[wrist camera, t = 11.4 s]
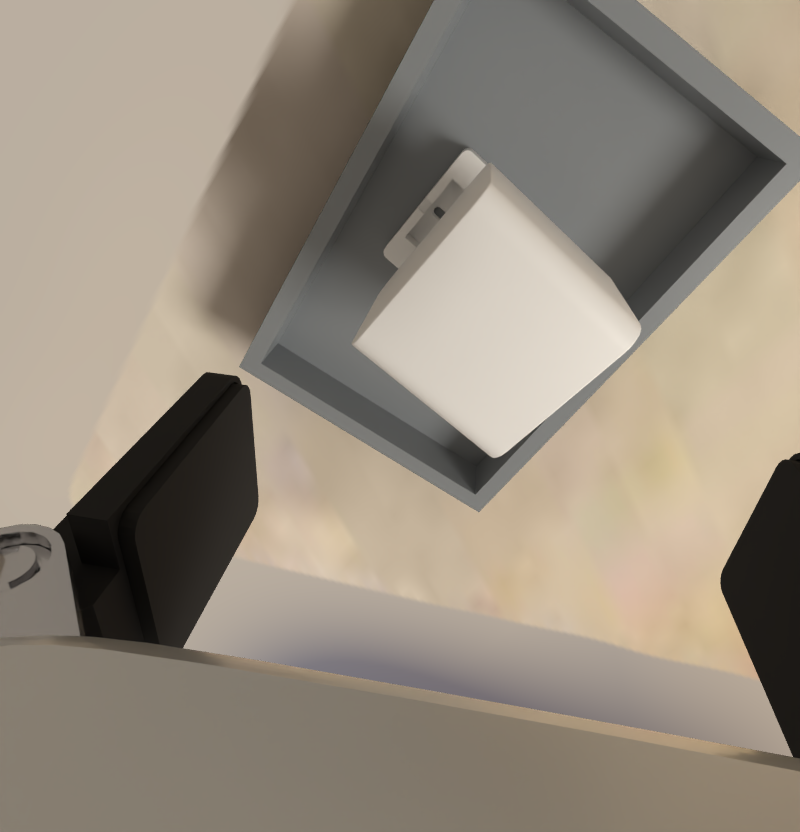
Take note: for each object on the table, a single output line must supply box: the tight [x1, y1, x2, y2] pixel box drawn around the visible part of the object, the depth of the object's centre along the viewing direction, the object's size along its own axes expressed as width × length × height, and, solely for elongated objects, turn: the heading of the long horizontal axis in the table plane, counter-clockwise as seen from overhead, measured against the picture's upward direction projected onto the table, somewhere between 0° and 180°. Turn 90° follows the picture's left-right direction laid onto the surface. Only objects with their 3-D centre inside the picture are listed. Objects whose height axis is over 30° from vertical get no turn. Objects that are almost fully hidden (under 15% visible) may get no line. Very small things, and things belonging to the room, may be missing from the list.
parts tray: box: [239, 0, 800, 512], centre depth 25 cm, size 20×14×4 cm
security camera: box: [352, 148, 641, 458], centre depth 21 cm, size 6×7×10 cm
